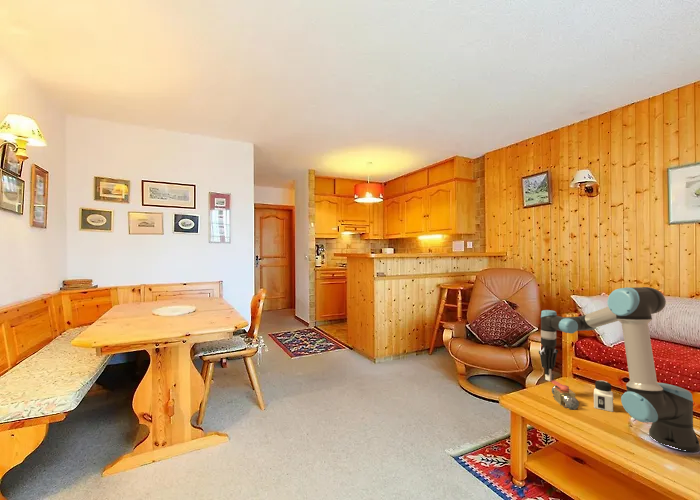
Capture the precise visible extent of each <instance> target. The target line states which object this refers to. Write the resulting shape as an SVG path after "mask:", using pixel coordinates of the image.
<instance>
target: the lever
mask: <svg viewBox="0 0 700 500" xmlns="http://www.w3.org/2000/svg"><path fill="white" fill-rule="evenodd" d="M554 375H555V374H553V373H552V374H551V381H549V383H551V384H553V385H554V386H558V387H560V390H562V391H569V389H570V386H569V385H565V384H561V383H560V382H559V381H557V380H555V379H554V377H555V376H554Z"/></svg>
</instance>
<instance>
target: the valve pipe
mask: <svg viewBox="0 0 700 500" xmlns="http://www.w3.org/2000/svg"><path fill="white" fill-rule="evenodd" d="M551 394H553V395H552V398H553V397H554V398H553V399H554V400H555V402H556V403H558V404H559V405H560V406H562V407H563V408H564V409H569V410H572V411H573V410H577V409H578V408H579V406H580V401H578V399H577V398H576V393H575V391H573V390H572V389H570V388H569V391H562V390H560V387H558V386H556V385H554V386H553V387H552V388H551Z"/></svg>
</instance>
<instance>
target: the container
mask: <svg viewBox="0 0 700 500" xmlns="http://www.w3.org/2000/svg"><path fill="white" fill-rule="evenodd" d="M594 385H595V386H594V387H595V388H594V389H593V408H594V409H596V410H597V409H598V410H601V411H607V412H612V413H613V412H614V392H613V391H612V384H611V383H610V382H608V381H605V380H596V381H595V382H594Z"/></svg>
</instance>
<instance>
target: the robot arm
mask: <svg viewBox="0 0 700 500" xmlns="http://www.w3.org/2000/svg"><path fill="white" fill-rule="evenodd" d="M666 303H667V301H666V297H665V295H664V294H663V293H662V292H661V291H660V290H658V289H656V288H655V287H654V288H653V287H649V286H642V287H641V286H638V287H628V286H627V287H620V288H616V289H614V290H612V291H611V293H610V294H609V295H608V297H607V306H606V307H604V308H600V309H598V310H595V311H593V312H592V311H591V312H590V313H587V314H583V315H579V316H559V315H557V311H555V310H552V309H551V310H550V309H543V310H541V314H540V344H541V345H542V347H541V350H538V354H539V356H540V358H539V359H540V363H541V367H542V368H544V376H545V377H544V378H545V380H546V381H548V382H550V381H551V374H553V371H552V370H554V369H555V366H556V363H557V361H556V360H557V355H558V353H559V350H558V349H557V348H556V347H557V331H559V332H563V333H566V334H575V333H576V332H580V331H581V332H583V331H593V330H596V329H597V328H600V327H601V326H605V325H609V324H612V323H615V322H620V323H621V328H622V336H623V341H624V343H623V344H624V350H625V356H626V363H627V371H628V375H629V381H628V382H626V384H625V387H626V391H625V392H624V393H623V394H621V397H620V401H621V405H622V407H623V409H624V410H625V412H626V413H628V415H629V416H630V417H631V418H632V419H634V420H636V421H638V422H641V423H651V425H650V427H649V429H648V436H649V435H650V436H651V437H652V438H653V439H655V440H656V441H658V442H659V443H662V444H665V445H669V446H672V447H675V448H678V449H681V450H686V451H691V452H690V453H695V452H696V453H698V452H699V451H700V442H699V438H698V437H697V434H696V431H695V429H694V399H693V394H692V393H691V391H690V390H688V389H685V388H682V387H680V386H677V385H673V384H669V383H665V382H658V380H657V374H656V373H657V372H656V366H655V361H654V355H653V354H654V353H653V347H652V341H651V340H652V339H651V335H650V328H649V323H650V322H652V320H653V317H652V316H653V314H658V313H660V312H661V311H663V310H664V308H665V307H666ZM650 436H649V437H650ZM651 437H650V438H651ZM652 438H651V439H652ZM653 439H652V440H653ZM656 441H655V442H656ZM659 443H658V444H659Z"/></svg>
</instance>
